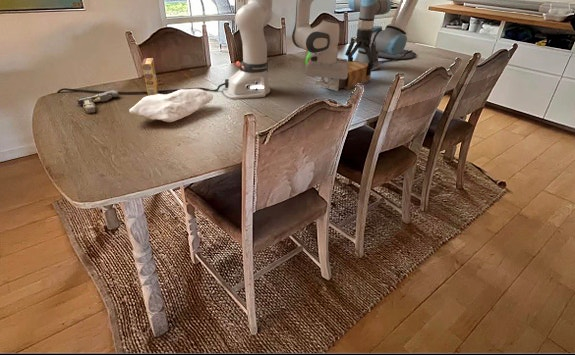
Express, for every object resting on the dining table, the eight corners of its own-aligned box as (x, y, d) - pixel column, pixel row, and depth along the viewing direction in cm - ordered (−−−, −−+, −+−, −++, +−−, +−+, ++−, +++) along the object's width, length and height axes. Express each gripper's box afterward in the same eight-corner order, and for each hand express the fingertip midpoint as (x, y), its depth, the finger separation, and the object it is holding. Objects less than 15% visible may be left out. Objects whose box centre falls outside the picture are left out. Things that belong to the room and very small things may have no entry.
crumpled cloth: (117, 110, 146) (113, 90, 140) (195, 92, 166) (194, 73, 160) (143, 139, 134) (140, 118, 128) (223, 116, 154) (224, 96, 148)
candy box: (157, 97, 164) (152, 63, 155) (147, 98, 163) (141, 63, 155) (158, 91, 171) (153, 57, 163) (149, 91, 170) (143, 58, 162)
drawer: (328, 94, 174) (330, 79, 170) (312, 88, 179) (313, 74, 175) (357, 83, 188) (359, 70, 185) (342, 78, 194) (343, 65, 190)
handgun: (128, 97, 156) (111, 87, 164) (86, 107, 144) (70, 97, 152) (129, 103, 157) (113, 94, 165) (88, 114, 146) (72, 103, 154)
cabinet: (348, 89, 183) (350, 71, 178) (330, 83, 190) (332, 66, 185) (369, 81, 195) (372, 64, 190) (352, 76, 202) (354, 60, 197)
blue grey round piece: (426, 55, 246) (429, 41, 242) (391, 61, 229) (393, 46, 224) (387, 47, 271) (389, 34, 267) (353, 52, 254) (354, 38, 249)
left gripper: (350, 57, 170) (347, 86, 177) (308, 53, 174) (306, 82, 182) (349, 61, 165) (346, 90, 172) (305, 57, 169) (304, 86, 176)
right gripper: (389, 32, 178) (381, 76, 190) (350, 24, 191) (345, 66, 203) (381, 33, 173) (373, 79, 185) (341, 25, 187) (336, 68, 198)
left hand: (325, 86), depth 177 cm, fingers closed
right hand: (358, 72), depth 194 cm, fingers closed on cabinet, 11 cm apart
